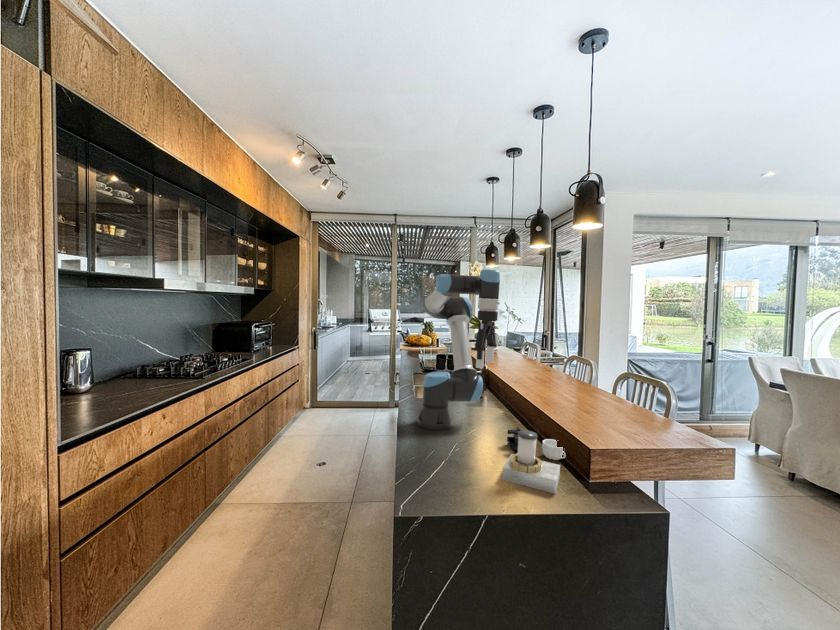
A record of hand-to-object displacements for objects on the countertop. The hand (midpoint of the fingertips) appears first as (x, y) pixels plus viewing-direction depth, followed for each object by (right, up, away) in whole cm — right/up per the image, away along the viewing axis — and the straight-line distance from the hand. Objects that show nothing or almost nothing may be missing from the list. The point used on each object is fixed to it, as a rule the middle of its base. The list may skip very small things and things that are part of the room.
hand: (484, 365), depth 140 cm
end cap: (+14, -33, +1) cm, 35 cm away
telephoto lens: (+9, -29, -22) cm, 38 cm away
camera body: (+11, -33, -22) cm, 42 cm away
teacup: (+24, -34, -7) cm, 42 cm away
